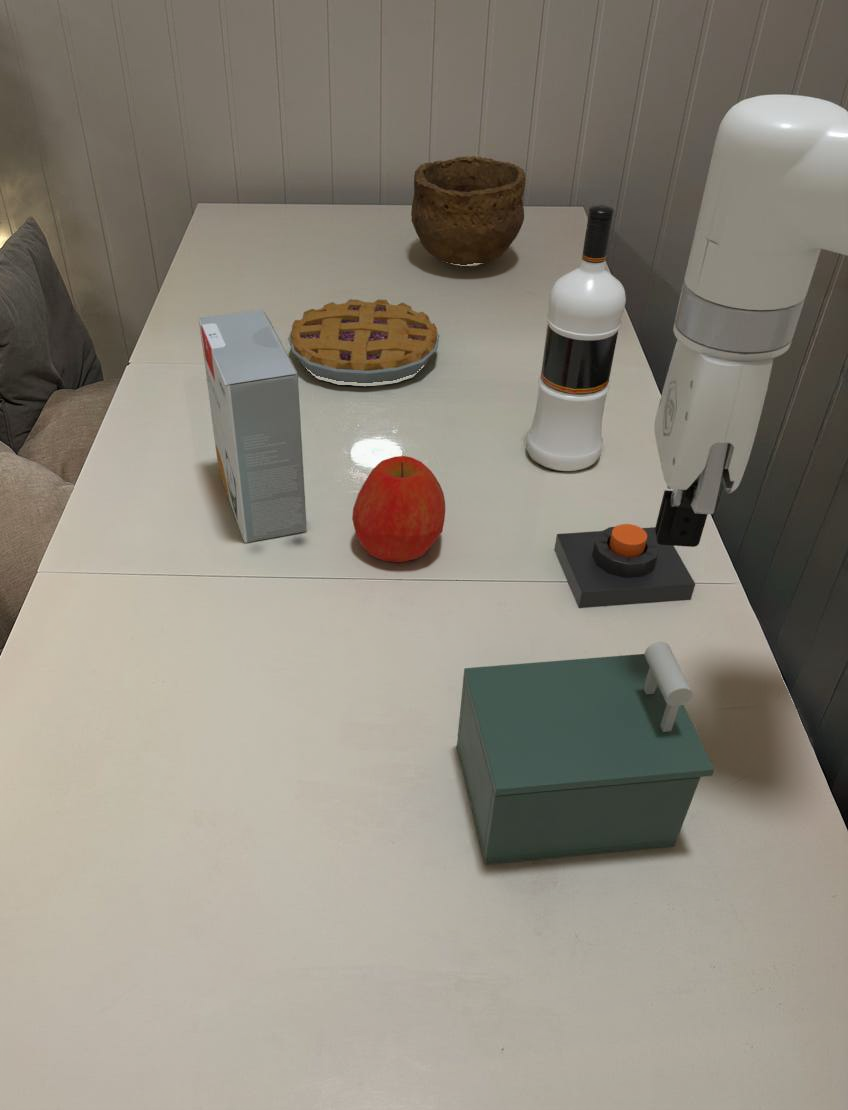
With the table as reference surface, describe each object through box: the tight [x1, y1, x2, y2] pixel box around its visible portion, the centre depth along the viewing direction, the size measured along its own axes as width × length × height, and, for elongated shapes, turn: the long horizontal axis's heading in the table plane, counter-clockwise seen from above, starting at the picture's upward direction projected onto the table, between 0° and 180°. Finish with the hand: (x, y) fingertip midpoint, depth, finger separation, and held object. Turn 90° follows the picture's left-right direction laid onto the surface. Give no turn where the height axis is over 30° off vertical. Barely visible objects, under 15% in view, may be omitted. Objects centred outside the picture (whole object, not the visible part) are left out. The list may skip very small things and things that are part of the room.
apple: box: [351, 455, 447, 563], centre depth 102 cm, size 10×10×10 cm
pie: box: [287, 298, 440, 383], centre depth 137 cm, size 22×22×5 cm
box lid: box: [463, 641, 716, 796], centre depth 73 cm, size 16×13×6 cm
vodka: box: [525, 203, 627, 472], centre depth 109 cm, size 9×9×30 cm
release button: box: [609, 523, 647, 557], centre depth 99 cm, size 4×4×2 cm
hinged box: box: [456, 675, 701, 865], centre depth 78 cm, size 16×13×9 cm
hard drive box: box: [197, 309, 307, 543], centre depth 105 cm, size 16×8×20 cm, turn 17°
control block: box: [553, 526, 696, 609], centre depth 101 cm, size 12×10×4 cm
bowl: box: [410, 155, 526, 265], centre depth 159 cm, size 19×19×15 cm
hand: (675, 539), depth 74 cm, fingers closed
